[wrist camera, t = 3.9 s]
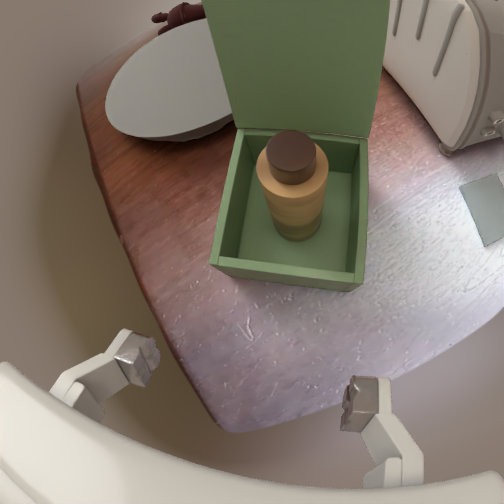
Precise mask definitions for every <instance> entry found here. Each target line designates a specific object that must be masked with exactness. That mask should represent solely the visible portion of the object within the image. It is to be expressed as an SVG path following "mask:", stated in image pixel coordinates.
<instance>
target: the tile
mask: <svg viewBox="0 0 504 504" xmlns="http://www.w3.org/2000/svg"><path fill="white" fill-rule="evenodd" d="M459 189H460V191H461V193H462V195H463V197H464V199H465V201H466V203H467V205H468V208H469V210H470V212H471V214H472V217H473V219H474V221H475V224H476V226H477V229H478V231H479V234H480V236H481V239H482V242H483V244H484V247H486V246H488V245H490V244H491V243H493V242H495V241H497V240H499V239H501V238H503V237H504V187H503V185H502V183H501V181H500V179H499V177H498V175H497V174H493V175H490V176H487V177H484V178H481V179H478V180H475V181H473V182H470V183H467V184H464V185H461V186H460V187H459Z"/></svg>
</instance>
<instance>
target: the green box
mask: <svg viewBox="0 0 504 504" xmlns="http://www.w3.org/2000/svg"><path fill="white" fill-rule="evenodd" d="M282 131H286V130H270V129H238V130H237V135H236V139H235V143H234V147H233V152H232V156H231V160H230V165H229V169H228V174H227V178H226V183H225V187H224V192H223V196H222V201H221V206H220V211H219V215H218V220H217V225H216V230H215V235H214V240H213V245H212V250H211V256H210V261H209V264H210V265H211V266H213V267H215V268H216V269H218V270H220V271H222V272H223V273H225V274H227V275H228V276H231V277H238V278H245V279H252V280H259V281H266V282H273V283H281V284H288V285H296V286H303V287H311V288H319V289H327V290H335V291H343V292H350V291H352V290H354V289H356V288H357V287H359V286H361V285H362V284H363V281H364V270H365V258H366V244H367V225H368V140H367V139H365V138H358V137H351V136H343V135H334V134H325V133H315V132H303V131H300V132H303V133H305V134H307V135H308V136H309V137H310V138H311V139H312V140H313V142H314V143H315V144H317V145H318V146H319V147H320V148H321V149H322V150H323V152H324V153H325V155H326V157H327V160H328V166H329V169H328V178H327V185H326V192H325V199H324V205H323V212H322V218H321V224H320V227H319V229H318V231H317V232H316V234H315V235H314V236H312V237H311V238H309V239H307V240H305V241H300V242H294V241H289V240H287V239H285V238H283V237H282V236H281V235H280V234H279V233H278V232H277V231H276V229H275V227H274V224H273V221H272V218H271V215H270V211H269V208H268V205H267V202H266V199H265V196H264V193H263V190H262V187H261V184H260V181H259V178H258V175H257V169H256V167H257V160H258V157H259V155H260V153H261V152H262V150H263V149H264V148H265V147H266V146H267V143H268V141H269V140H270V139H271V138H272V137H273V136H274V135H276V134H277V133H279V132H282Z"/></svg>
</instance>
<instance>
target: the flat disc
mask: <svg viewBox="0 0 504 504" xmlns="http://www.w3.org/2000/svg"><path fill="white" fill-rule="evenodd" d="M105 109H106V114H107V117H108V119H109V121H110V123H111V124H112V125H113V126H114V127H115V128H116V129H118V130H119V131H121V132H123V133H125V134H128V135H132V136H136V137H140V138H143V139H147V140H157V141H167V140H169V141H172V142H174V141H182V142H185V141H188V140H191V139H198V138H201V137H203V136H205V135H208V134H212V133H213V132H215V131H218V130H220V129H221V128H222V127H223V126H224V125H225V124H227V123H229V122H231V121H232V120H234V118H233V114H232V110H231V107H230V103H229V99H228V95H227V91H226V88H225V84H224V80H223V77H222V73H221V69H220V65H219V62H218V58H217V54H216V51H215V47H214V43H213V40H212V36H211V33H210V29H209V25H208V22H207V18H206V19H201V20H197V21H193V22H190V23H187V24H184V25H181V26H178V27H176V28H174V29H171V30H169V31H167V32H165V33H163V34H161V35H160V36H158V37H156V38H155V39H153V40H151V41H150V42H149V43H147V44H146V45H144V46H143V47H142V48H140V49H139V50H138V51H137V52H136V53H135V54H133V55H132V56H131V57H130V58H129V59H128V60H127V61H126V63H125V64H124V65H123V66H122V67H121V69H120V70H119V71H118V73H117V74H116V76H115V77H114V79H113V81H112V83H111V85H110V87H109V90H108V93H107V97H106V108H105Z"/></svg>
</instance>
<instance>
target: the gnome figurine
mask: <svg viewBox="0 0 504 504" xmlns="http://www.w3.org/2000/svg"><path fill="white" fill-rule="evenodd" d="M205 18H206V15H205V11H204V8H203V5H190V4H189V3H184V2H183V3H182V4H179V5H178V6H176V7H175V8H173V9H172V10H171V11H170V12H169V14H168V13H164V14H162V13H161V12H160V13H159V14H156V15H154V16H153V17H152V21H153V22H154V23H160V22H165V21H166V20H167V22H168V24H169V25H167V26H164V27H163V28H161V29H160V30H159V31H158V35H159V36H160V35H161V34H163V33H165V32H167V31H169V30H171V29H174V28H176V27H178V26H181V25H184V24H187V23H190V22H193V21H197V20H201V19H205Z"/></svg>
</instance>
